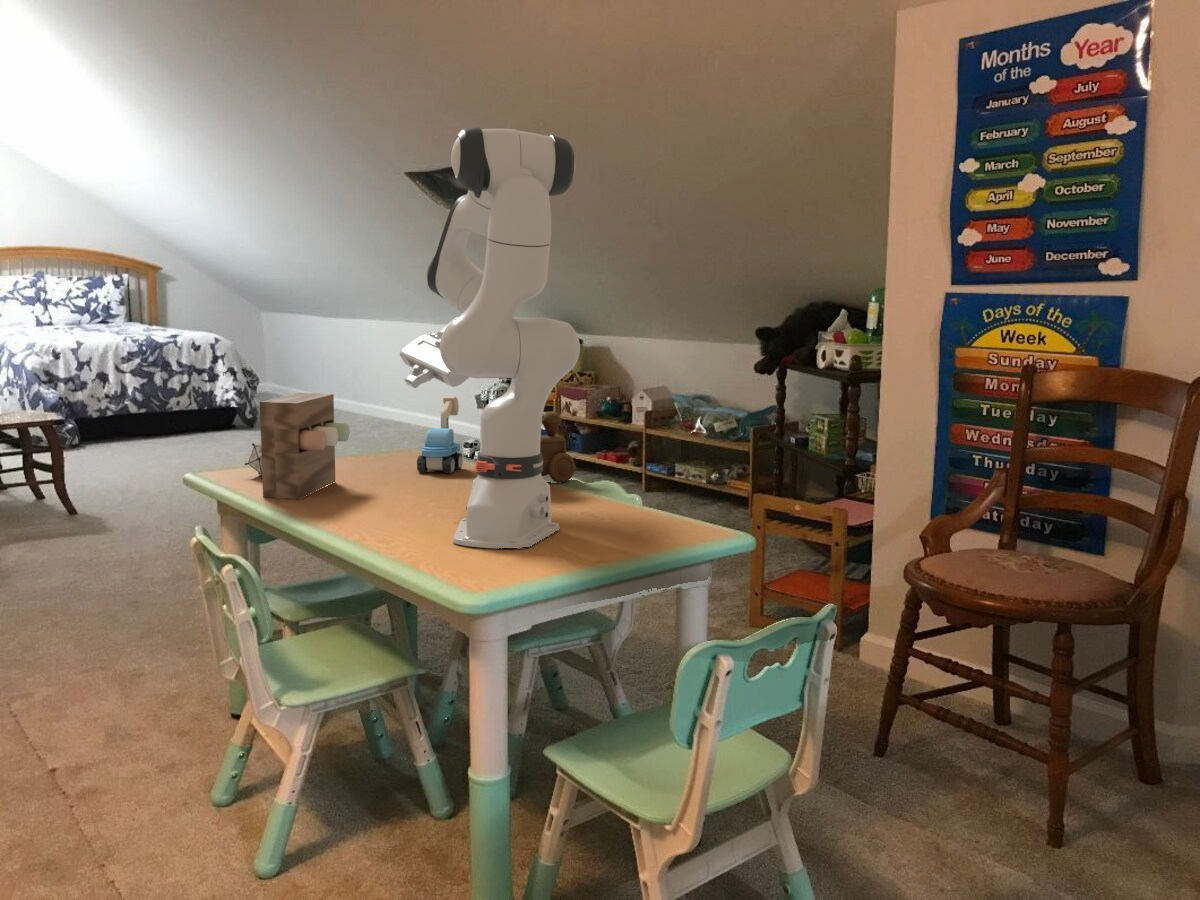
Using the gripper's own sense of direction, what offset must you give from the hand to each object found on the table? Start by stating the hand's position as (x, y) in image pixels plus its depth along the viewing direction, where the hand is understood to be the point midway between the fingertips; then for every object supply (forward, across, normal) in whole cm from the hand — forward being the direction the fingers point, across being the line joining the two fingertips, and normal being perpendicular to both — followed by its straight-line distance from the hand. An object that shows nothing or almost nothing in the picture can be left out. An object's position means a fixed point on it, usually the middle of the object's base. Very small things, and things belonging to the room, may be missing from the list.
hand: (409, 384), depth 207 cm
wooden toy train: (-9, +9, +36) cm, 38 cm away
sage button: (+17, -15, +8) cm, 24 cm away
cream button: (+20, -11, +4) cm, 23 cm away
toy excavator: (-1, -15, +35) cm, 38 cm away
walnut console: (+29, -13, +11) cm, 34 cm away
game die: (+31, -31, +14) cm, 46 cm away
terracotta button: (+24, -7, +1) cm, 25 cm away
